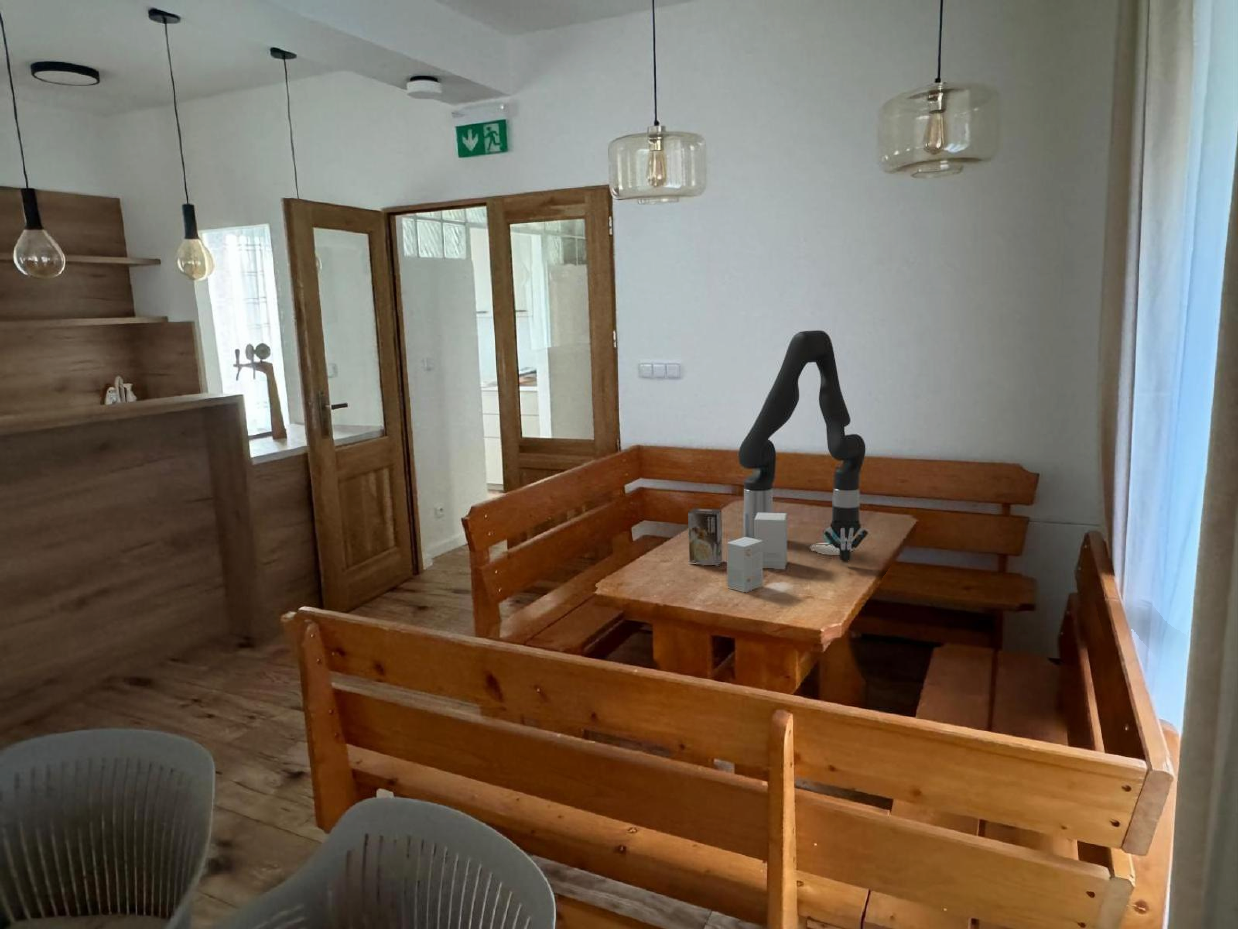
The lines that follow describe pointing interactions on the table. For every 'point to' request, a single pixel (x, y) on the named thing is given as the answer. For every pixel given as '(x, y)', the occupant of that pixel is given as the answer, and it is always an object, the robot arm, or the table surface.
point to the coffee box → (705, 536)
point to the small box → (745, 564)
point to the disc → (826, 549)
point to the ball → (832, 536)
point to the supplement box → (772, 538)
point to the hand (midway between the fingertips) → (844, 561)
